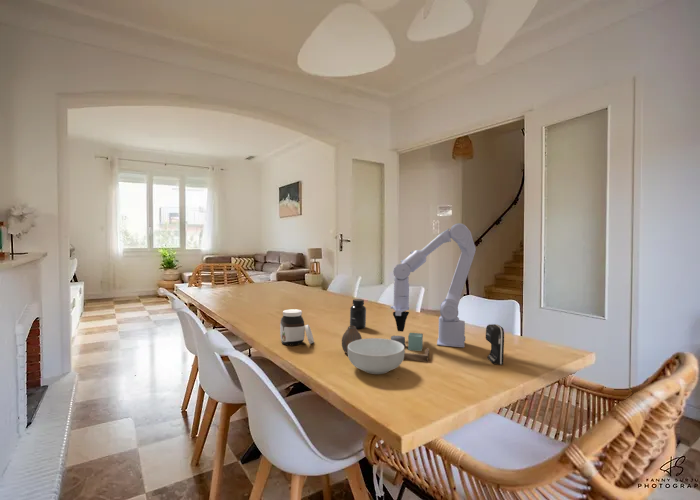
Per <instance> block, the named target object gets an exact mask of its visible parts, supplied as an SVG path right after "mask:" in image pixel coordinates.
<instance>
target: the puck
mask: <svg viewBox="0 0 700 500" xmlns="http://www.w3.org/2000/svg"><path fill="white" fill-rule="evenodd" d="M405 339H406V338H405V336H403V335H392V336H390V340H394V341H397V342H400V343H402V344H403V345H404V347H405V346H406V345H405V343H406V340H405Z"/></svg>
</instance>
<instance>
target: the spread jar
mask: <svg viewBox="0 0 700 500" xmlns="http://www.w3.org/2000/svg"><path fill="white" fill-rule="evenodd" d="M302 314H303V311H302V310H301V309H296V308H294V309H293V308H292V309H284V310H283V311H282V317H281V318H280V323H279V327H280V328H279V329H280V331H279V334H280V341H281V343H282V344H283V345H285V346H298V345H301V344H302V343H304V341H305V334H306V338H307V341H308V343H309V344H314V343H315V339H314V335H313V332H312V329H311V326H310V325H309V324H305V320H304V318H303V316H302Z"/></svg>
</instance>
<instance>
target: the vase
mask: <svg viewBox="0 0 700 500" xmlns="http://www.w3.org/2000/svg"><path fill="white" fill-rule="evenodd" d="M360 339H363V337H362V335H361V333H360V332H359V329H356V327H355V326H350V325H349V326H348V327H347V329H346V331H345V332H344V333H343V334H342V337H341V347H342V350H343V352H345V354H347V355H348V344H349V343H351V342H353V341H356V340H360Z"/></svg>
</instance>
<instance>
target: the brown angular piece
mask: <svg viewBox="0 0 700 500" xmlns="http://www.w3.org/2000/svg"><path fill="white" fill-rule="evenodd" d="M429 355H430V348H427V347H425V351H424V353H420V354H419V353H414V352H413V353H412V352H405V353H404V359H403V360H408V361H418V362H419V361H420V362H428V361H429V357H430V356H429Z"/></svg>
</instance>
